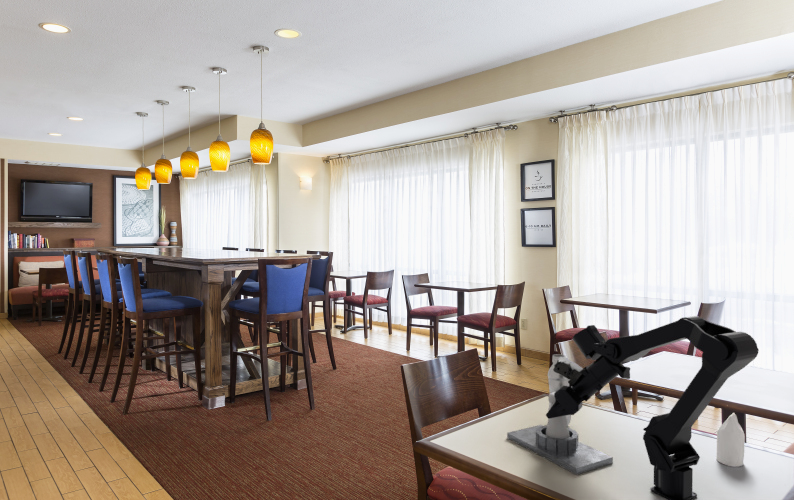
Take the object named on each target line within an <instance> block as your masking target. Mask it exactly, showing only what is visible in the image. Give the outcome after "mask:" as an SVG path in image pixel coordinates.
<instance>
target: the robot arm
mask: <svg viewBox="0 0 794 500" xmlns="http://www.w3.org/2000/svg"><path fill="white" fill-rule="evenodd" d="M684 340H689V342H690V343H691V344H692V345H693V347H695V348H696V349H697V350H699V351H700V352H702V354H701V367H700V369H699V370H698V372H696V374H695V375H694V377H693V379H692V380H691V381H690V382H689V384H688V385H687V387H686V389H685V390H684V391H683V393H682V394H681V395H680V397H679V398H678V400H676V403H675V404H674V405H673V407H672V409H671V410H670V411H669V412H667V413H663V414H657V415H656V416H655V415H654V416H652V417H651V419H650V420H649V422H648V425H647V426H646V427H644V428H643V429H642V430H643V431H645V432H644V433H643V436H642V440H643V442H644V445H645V449H646V453H647V456H648V459H649V464H650V465H651V466H653V485H654V486H652V487H650V491H651V492H653V493H654V494H657V495H659V496H660V497H663V498H665V499H667V500H692V499H694V498H696V497H698V494H697V492H695V491H693V473H694V472H693V468H692V466H697V465H698V463H699V461H700V457H701V456H700V455H699V453H698V452H697V451H696V449H695V447H694V446H693V445H692V444H691V439H692V427H693V426H694V424H695V423H696V421H697V420H698V419H699V418H700V416H701V414H702V413H703V412H704V411H705V410H706V408H707V406H708V405H709V404H710V403H711V402H712V400H713V398H714V397H715V396H716V395H717V393H718V392H719V391H720V389H721V388H722V387H723V385H724V384H725V383H726V381H728V379H729V378H730V377H732V376H734V375H735V374H737V373H738V372H739V371H741V370H743V369H744V368H745V367H746V366H748V365H749V364H750V363H751V362H752V361H754V360H755V359H756V358H757V356H758V355H759V352H760V351H759V348H758V345H757V341H756V340H755V338H753V336H751V335H750V334H748V333H747V332H744V331H736V330H735V329H732V328H730V327H727V326H723V325H721V324H718V323H714V322H711V321H709V320H707V319H706V318H703V317H701V316H698V315H693V316H687V317H681V318H679V319H678V320H676V321H673V322H670V323H667V324H665V325H662V326H658V327H656V328H653V329H651V330H647V331H645V332H641V333H639V334H633V335H627V336H619V337H612V338H611V337H610V338H608V339H607V340H606V339H605V338H604V337H603V335H602V334H601V333H600V332H599V330H598V328H597V327H596V325H595V324H591V325H587V326H586V327H585V328H582V329H581V330H580V331H578V332H577V333H575V334H574V335H573V336H572V341H573V343H574V344H575V345H576V346H577V348H578V349H579V351H580V352H581V354H582V355H583V356H584V358H585V359H586V360H591V361H593V362H591V363H590V364H589V365H586V366H585V367H584V368H583V367H582V366H580V365H579V364H578V363H576V362H574V361H572V360H570V359H568V357H566V358H565V357H561V358H559V359H558V361H557V363H556V364H555V365H554V366H555V367H554V369H553V371H554V372H556V373H559V374H560V375H562V376H564V377H565V378H567V379H570V380H569V381H568V383H569V386H563V387H561V388H560V389H559V390H558V391H557V392H555V393H554V397H555V400H556V401H555V403H554V404H553V406H552V407H551V409H550V410H549V411H548V410H547V412H546V414H545V417H546V418H547V420H548V419H550V418H555V417H560V416H566V415H571V416H574V415H575V414H577V413H578V412H579V411H580V410H581V409H582V408H583V402H587V401H588V400H590V399H591V398H592V397H593V396H594V395H596V394H597V393H599V392H600V391H601V390H603V388H604V387H606V386H607V385H608V384H609V383H611V381H613V380H614V379H615V378H616V377H618V376H619V377H620V378H621V379H625V380H626V379H627V380H630V379H631V373H630V371H631V368H630V367H628V366H625V365H624V364H623V363H628V362H629V363H630V362H635V361H637V360H639V359H641V358H643V357H644V356H646V355H648V353H649V352H650V351H652V350H655V349H659V348H662V347H664V346H668V345H670V344H674V343H677V342H681V341H684Z"/></svg>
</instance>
